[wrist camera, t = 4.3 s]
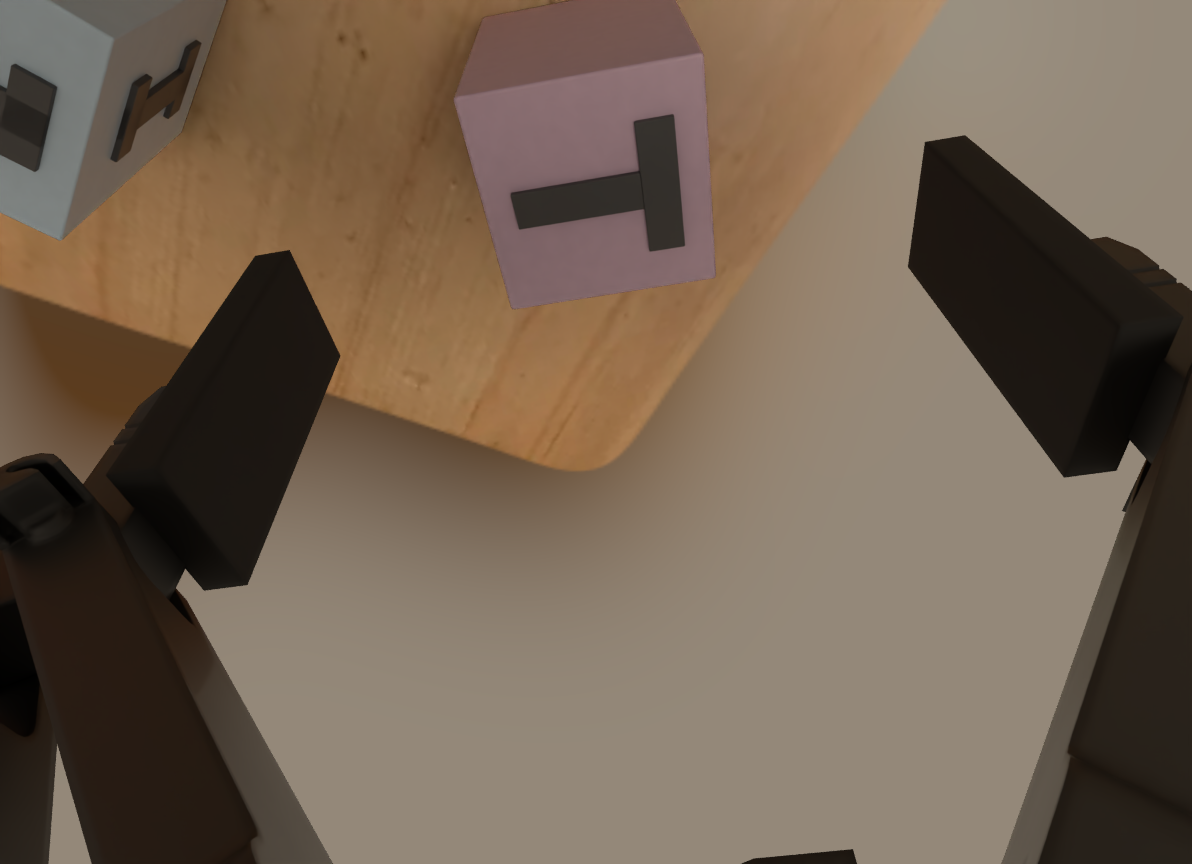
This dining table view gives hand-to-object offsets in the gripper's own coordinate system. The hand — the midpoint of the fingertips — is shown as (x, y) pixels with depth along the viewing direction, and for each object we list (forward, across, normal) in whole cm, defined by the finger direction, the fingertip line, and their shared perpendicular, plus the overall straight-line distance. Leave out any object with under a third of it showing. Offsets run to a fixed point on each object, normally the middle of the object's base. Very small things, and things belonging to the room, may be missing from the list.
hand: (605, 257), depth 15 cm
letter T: (+10, 0, 0) cm, 10 cm away
